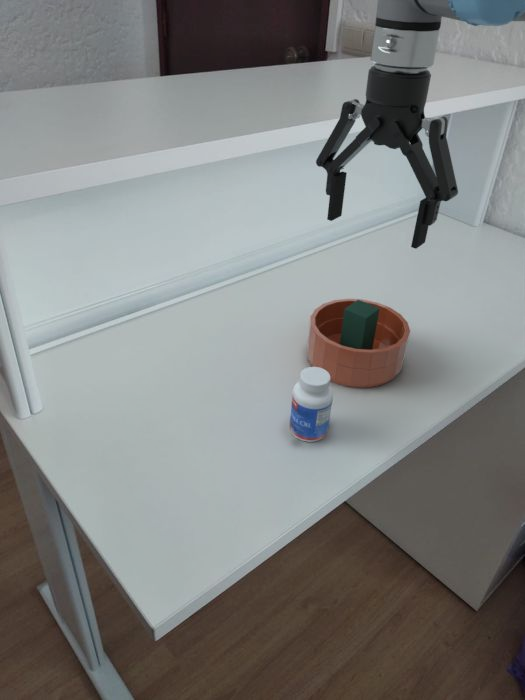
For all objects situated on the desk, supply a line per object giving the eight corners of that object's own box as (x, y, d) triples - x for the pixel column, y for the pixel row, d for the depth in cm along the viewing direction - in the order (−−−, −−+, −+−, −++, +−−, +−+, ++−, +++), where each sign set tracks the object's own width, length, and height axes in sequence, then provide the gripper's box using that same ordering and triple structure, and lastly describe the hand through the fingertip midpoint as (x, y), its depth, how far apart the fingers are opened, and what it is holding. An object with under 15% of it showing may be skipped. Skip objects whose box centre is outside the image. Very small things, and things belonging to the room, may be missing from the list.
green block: (371, 355, 95) (380, 308, 90) (358, 365, 93) (366, 318, 88) (351, 345, 97) (358, 299, 92) (337, 355, 95) (344, 308, 90)
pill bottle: (281, 427, 81) (285, 372, 76) (308, 411, 84) (314, 357, 79) (308, 449, 78) (315, 393, 73) (335, 431, 81) (344, 377, 76)
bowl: (418, 357, 97) (426, 321, 93) (371, 402, 87) (378, 365, 83) (339, 323, 104) (344, 289, 100) (287, 361, 94) (290, 325, 90)
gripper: (299, 56, 74) (288, 214, 86) (489, 88, 62) (445, 267, 74) (331, 50, 79) (317, 201, 91) (513, 79, 66) (468, 248, 79)
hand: (374, 231), depth 82 cm, fingers open, 13 cm apart
